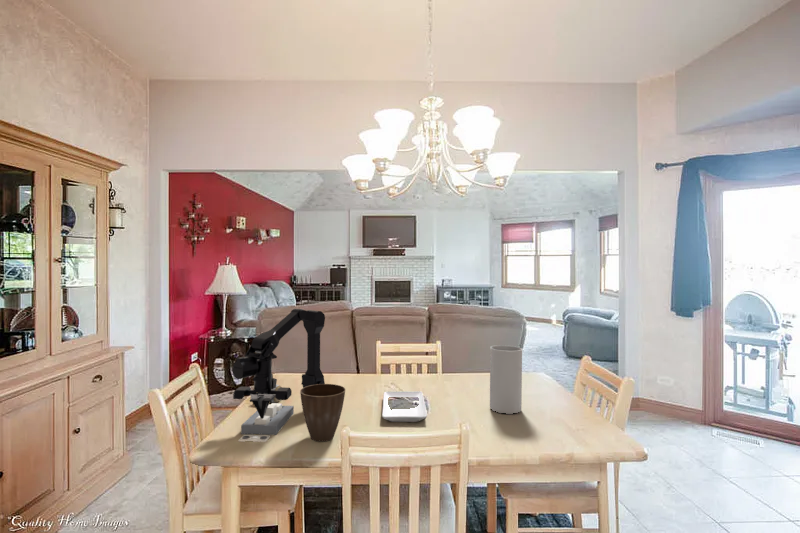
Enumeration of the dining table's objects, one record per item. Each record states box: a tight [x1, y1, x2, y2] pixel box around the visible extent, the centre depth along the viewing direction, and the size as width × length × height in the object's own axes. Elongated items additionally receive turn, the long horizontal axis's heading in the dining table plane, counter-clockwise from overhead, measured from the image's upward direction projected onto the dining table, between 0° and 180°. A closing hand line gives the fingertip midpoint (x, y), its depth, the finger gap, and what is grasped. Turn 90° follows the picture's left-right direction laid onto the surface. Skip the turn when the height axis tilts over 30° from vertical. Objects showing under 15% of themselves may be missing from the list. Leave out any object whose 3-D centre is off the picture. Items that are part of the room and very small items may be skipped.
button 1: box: [254, 416, 270, 425], centre depth 146 cm, size 4×4×4 cm
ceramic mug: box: [263, 384, 282, 403], centre depth 179 cm, size 11×8×8 cm
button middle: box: [265, 403, 277, 418], centre depth 153 cm, size 4×4×4 cm
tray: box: [381, 390, 428, 423], centre depth 169 cm, size 17×31×4 cm, turn 1°
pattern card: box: [237, 434, 272, 443], centre depth 139 cm, size 9×5×1 cm, turn 88°
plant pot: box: [299, 383, 346, 443], centre depth 141 cm, size 15×15×16 cm
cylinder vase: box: [489, 344, 523, 415], centre depth 171 cm, size 12×12×25 cm
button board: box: [240, 405, 295, 436], centre depth 153 cm, size 12×21×3 cm, turn 178°
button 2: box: [271, 402, 283, 411], centre depth 160 cm, size 4×4×4 cm
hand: (262, 417), depth 146 cm, fingers closed, pressing on button 1
